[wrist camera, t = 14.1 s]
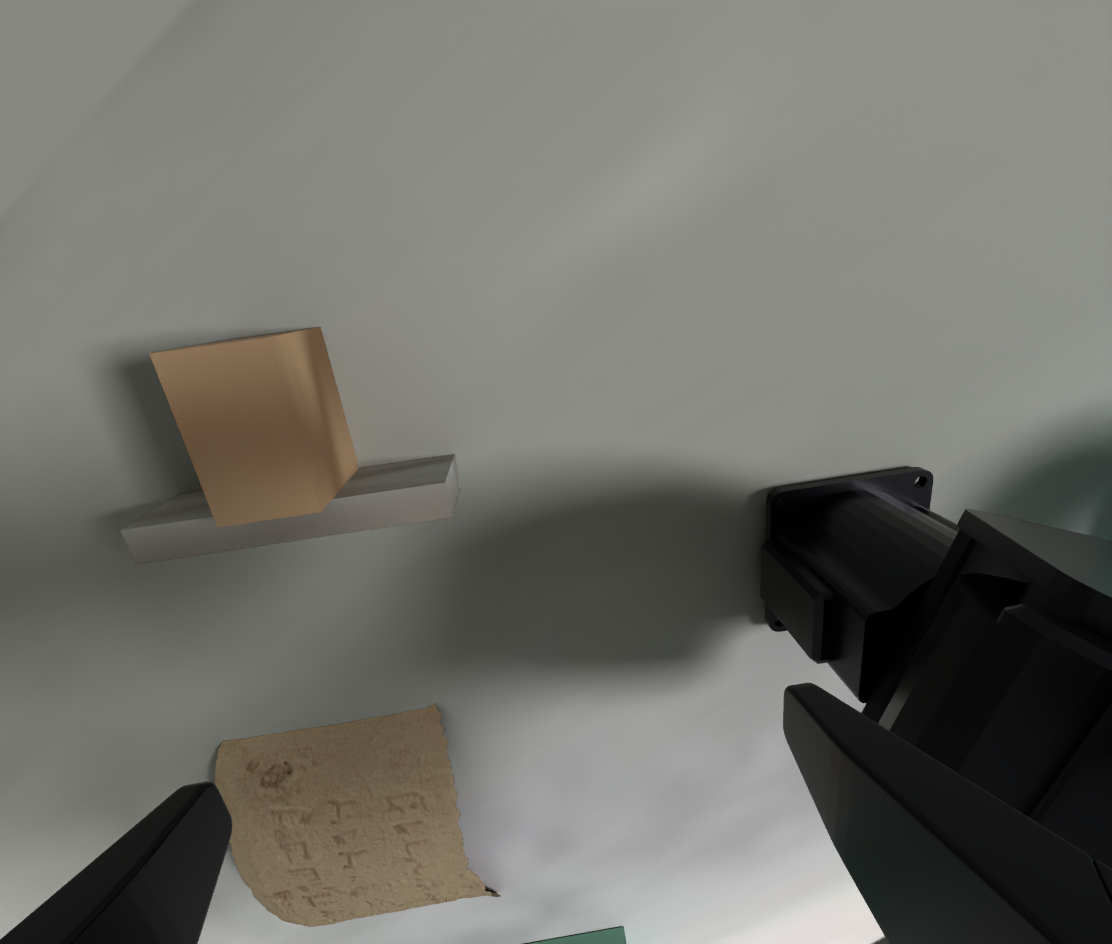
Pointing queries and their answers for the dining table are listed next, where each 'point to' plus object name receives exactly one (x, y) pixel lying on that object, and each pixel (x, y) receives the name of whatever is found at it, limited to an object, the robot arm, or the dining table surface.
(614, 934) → the bar
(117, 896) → the robot arm
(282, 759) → the clay tablet
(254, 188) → the dining table surface
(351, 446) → the tan block on bar
